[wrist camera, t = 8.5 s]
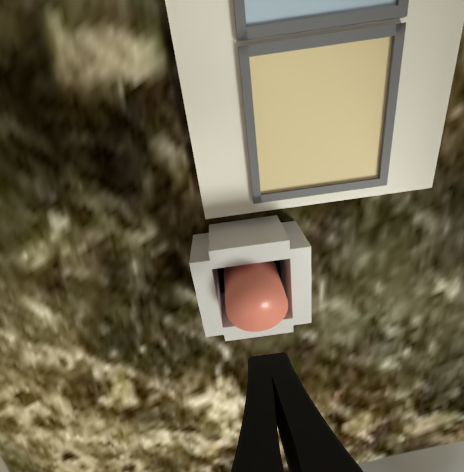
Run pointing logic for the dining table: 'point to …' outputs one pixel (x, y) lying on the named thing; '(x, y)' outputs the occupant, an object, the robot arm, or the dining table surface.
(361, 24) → the sheet
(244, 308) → the button
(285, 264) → the button housing
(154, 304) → the dining table surface
